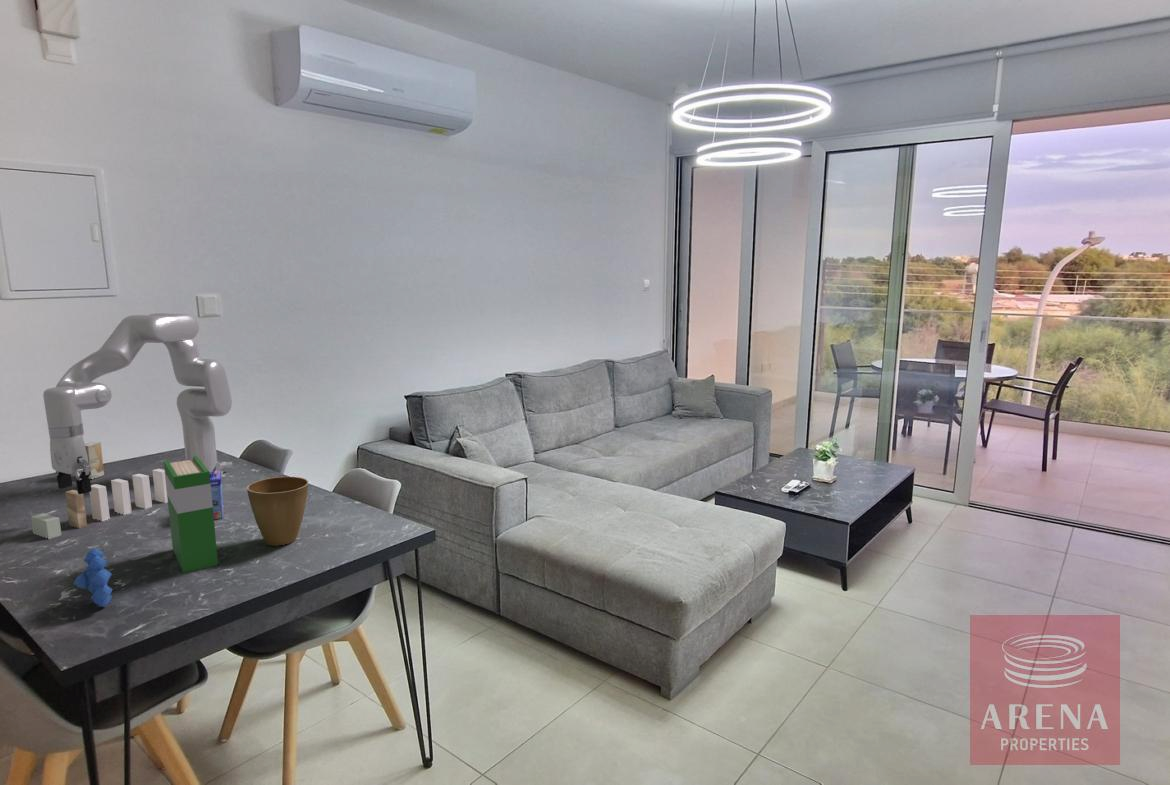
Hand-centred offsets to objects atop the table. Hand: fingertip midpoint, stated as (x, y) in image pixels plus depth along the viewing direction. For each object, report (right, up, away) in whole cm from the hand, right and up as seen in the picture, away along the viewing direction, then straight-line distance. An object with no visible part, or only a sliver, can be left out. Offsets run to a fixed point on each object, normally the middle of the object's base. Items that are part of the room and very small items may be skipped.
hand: (75, 490), depth 186 cm
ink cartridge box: (+33, -9, +11) cm, 36 cm away
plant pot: (+62, -13, -8) cm, 64 cm away
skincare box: (-30, -3, +46) cm, 55 cm away
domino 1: (0, -10, +1) cm, 10 cm away
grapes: (+38, -19, -43) cm, 60 cm away
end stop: (-3, -11, -5) cm, 13 cm away
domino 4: (+8, -8, +17) cm, 20 cm away
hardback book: (+45, -14, -19) cm, 51 cm away
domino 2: (+3, -9, +7) cm, 12 cm away
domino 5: (+11, -7, +22) cm, 26 cm away
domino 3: (+5, -9, +12) cm, 16 cm away
